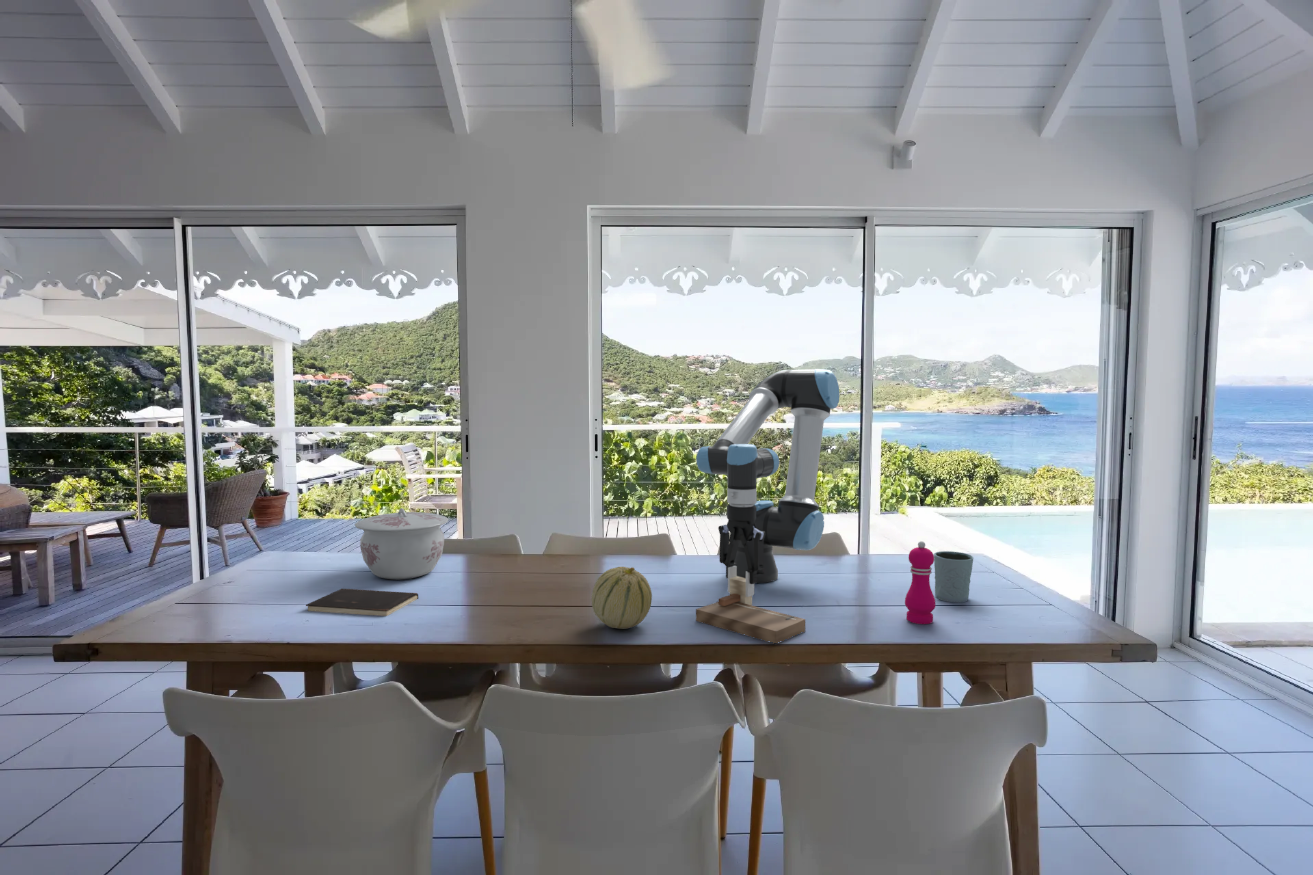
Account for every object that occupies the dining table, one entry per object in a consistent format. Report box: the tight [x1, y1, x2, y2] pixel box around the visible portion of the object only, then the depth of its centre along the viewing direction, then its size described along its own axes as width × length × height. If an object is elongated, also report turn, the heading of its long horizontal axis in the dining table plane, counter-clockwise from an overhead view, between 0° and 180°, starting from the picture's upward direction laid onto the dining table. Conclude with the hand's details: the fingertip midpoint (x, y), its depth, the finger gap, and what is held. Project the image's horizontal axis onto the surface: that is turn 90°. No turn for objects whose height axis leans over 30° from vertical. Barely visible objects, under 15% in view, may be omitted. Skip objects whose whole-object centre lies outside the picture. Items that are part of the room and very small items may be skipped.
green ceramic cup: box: [933, 550, 974, 603], centre depth 205 cm, size 10×10×12 cm
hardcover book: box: [305, 588, 419, 617], centre depth 199 cm, size 16×23×2 cm
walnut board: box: [695, 601, 806, 644], centre depth 182 cm, size 24×12×3 cm, turn 46°
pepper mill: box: [904, 540, 936, 625], centre depth 186 cm, size 7×7×20 cm
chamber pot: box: [354, 508, 450, 581], centre depth 230 cm, size 28×28×21 cm
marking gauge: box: [717, 576, 753, 606], centre depth 192 cm, size 5×11×8 cm, turn 136°
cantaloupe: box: [591, 566, 653, 630], centre depth 181 cm, size 15×15×15 cm
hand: (740, 593), depth 193 cm, fingers closed on marking gauge, 5 cm apart
